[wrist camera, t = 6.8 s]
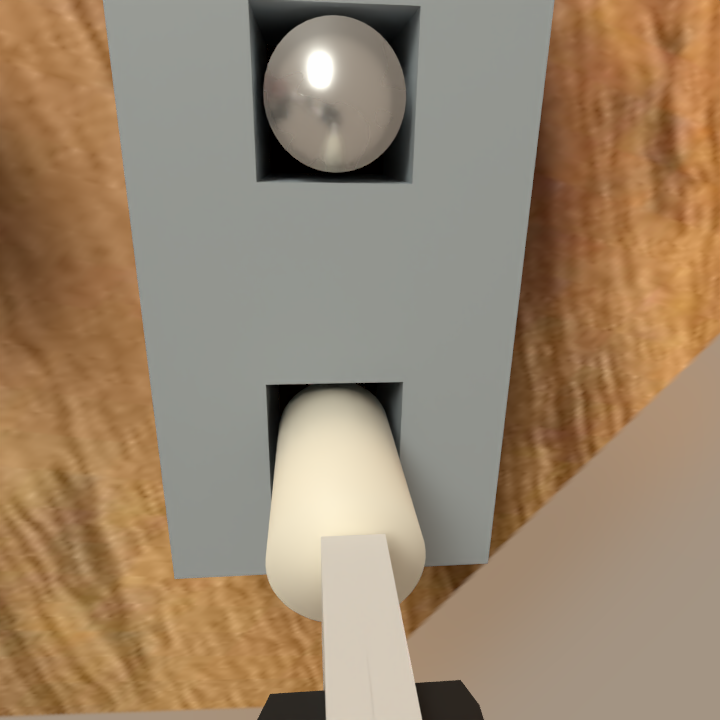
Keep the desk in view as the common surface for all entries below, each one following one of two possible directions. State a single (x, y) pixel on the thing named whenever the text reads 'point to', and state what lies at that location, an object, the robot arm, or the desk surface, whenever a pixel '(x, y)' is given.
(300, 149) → the metal peg
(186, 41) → the socket block
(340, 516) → the cream peg
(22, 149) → the desk surface
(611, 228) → the desk surface
